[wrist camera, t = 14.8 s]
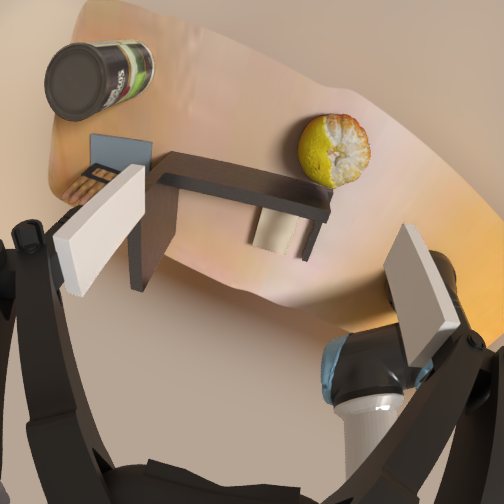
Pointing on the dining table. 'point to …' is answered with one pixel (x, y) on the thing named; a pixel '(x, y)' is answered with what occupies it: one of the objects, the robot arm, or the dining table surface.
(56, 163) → the dining table surface
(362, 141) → the fruit
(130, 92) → the coffee can
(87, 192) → the ammunition clip
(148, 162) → the mat
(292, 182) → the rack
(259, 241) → the offcut upper
